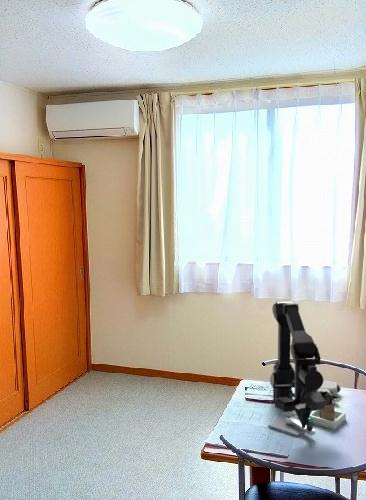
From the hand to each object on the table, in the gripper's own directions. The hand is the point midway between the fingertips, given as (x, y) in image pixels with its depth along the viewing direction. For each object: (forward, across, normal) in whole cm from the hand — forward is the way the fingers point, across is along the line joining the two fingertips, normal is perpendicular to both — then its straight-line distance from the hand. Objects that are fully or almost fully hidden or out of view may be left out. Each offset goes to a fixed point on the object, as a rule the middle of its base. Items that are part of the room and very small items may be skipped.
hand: (303, 427), depth 149 cm
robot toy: (+2, +28, +24) cm, 37 cm away
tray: (+3, +15, +7) cm, 17 cm away
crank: (+3, +2, +5) cm, 6 cm away
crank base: (+3, +2, +10) cm, 10 cm away
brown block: (+2, +15, +7) cm, 17 cm away
